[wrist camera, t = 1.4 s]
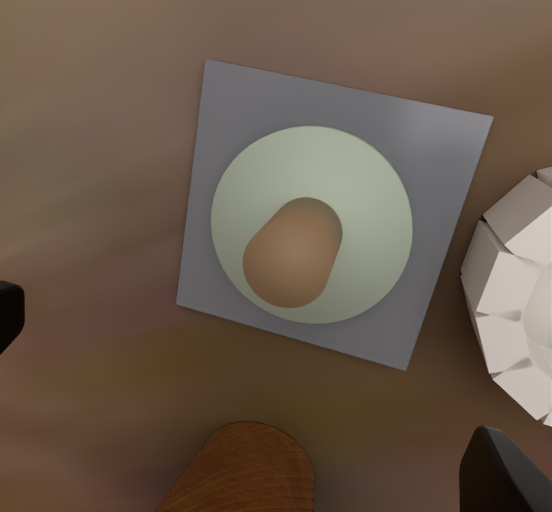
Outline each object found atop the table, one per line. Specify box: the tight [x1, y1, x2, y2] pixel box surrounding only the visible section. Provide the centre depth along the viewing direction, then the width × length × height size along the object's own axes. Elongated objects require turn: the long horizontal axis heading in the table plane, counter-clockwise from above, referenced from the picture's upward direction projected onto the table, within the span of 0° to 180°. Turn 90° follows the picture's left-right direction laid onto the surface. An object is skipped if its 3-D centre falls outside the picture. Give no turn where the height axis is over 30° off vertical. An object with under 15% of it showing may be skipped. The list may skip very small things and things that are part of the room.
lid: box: [211, 125, 413, 324], centre depth 17 cm, size 8×8×5 cm
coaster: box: [176, 59, 493, 371], centre depth 20 cm, size 11×11×1 cm
